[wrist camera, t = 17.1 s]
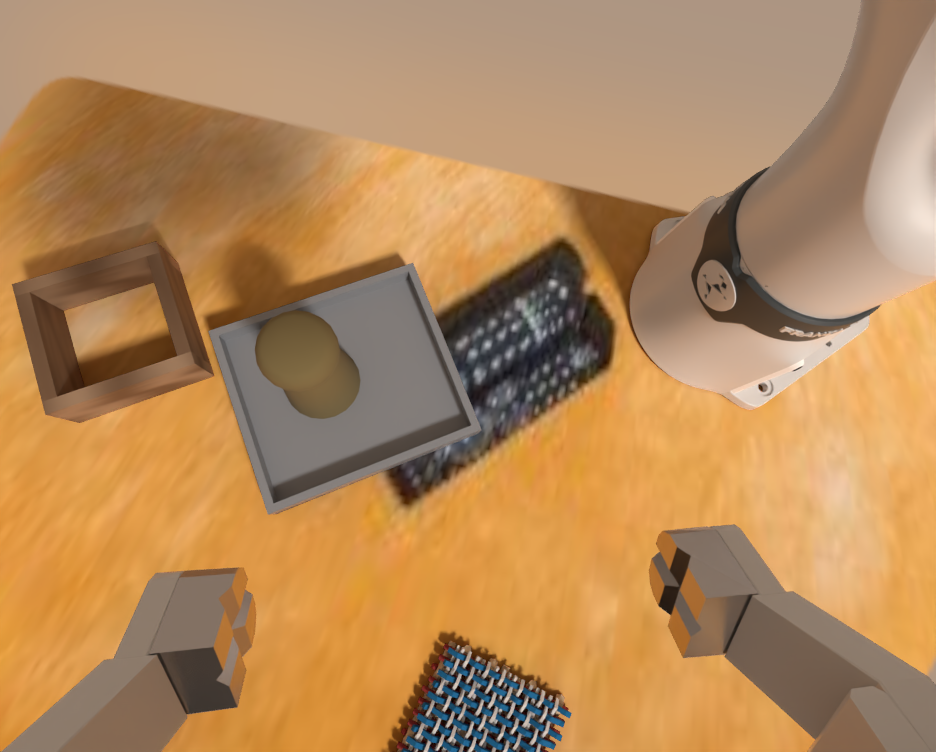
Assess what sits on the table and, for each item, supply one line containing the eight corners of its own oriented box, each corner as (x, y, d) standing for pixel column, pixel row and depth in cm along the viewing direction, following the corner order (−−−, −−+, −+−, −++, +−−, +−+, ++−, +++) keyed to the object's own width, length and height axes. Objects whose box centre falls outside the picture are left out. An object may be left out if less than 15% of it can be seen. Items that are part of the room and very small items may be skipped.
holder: (178, 263, 46) (156, 241, 42) (214, 376, 44) (194, 363, 40) (47, 303, 44) (12, 284, 40) (79, 422, 42) (45, 414, 39)
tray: (413, 275, 48) (412, 262, 45) (477, 433, 45) (481, 429, 43) (219, 340, 45) (208, 331, 42) (276, 513, 42) (268, 514, 40)
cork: (297, 337, 44) (260, 285, 34) (369, 356, 45) (354, 311, 34) (273, 408, 43) (226, 377, 32) (347, 427, 43) (325, 403, 33)
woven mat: (446, 630, 42) (447, 636, 40) (569, 696, 42) (576, 705, 40) (379, 770, 39) (377, 784, 37) (510, 841, 39) (515, 859, 37)
